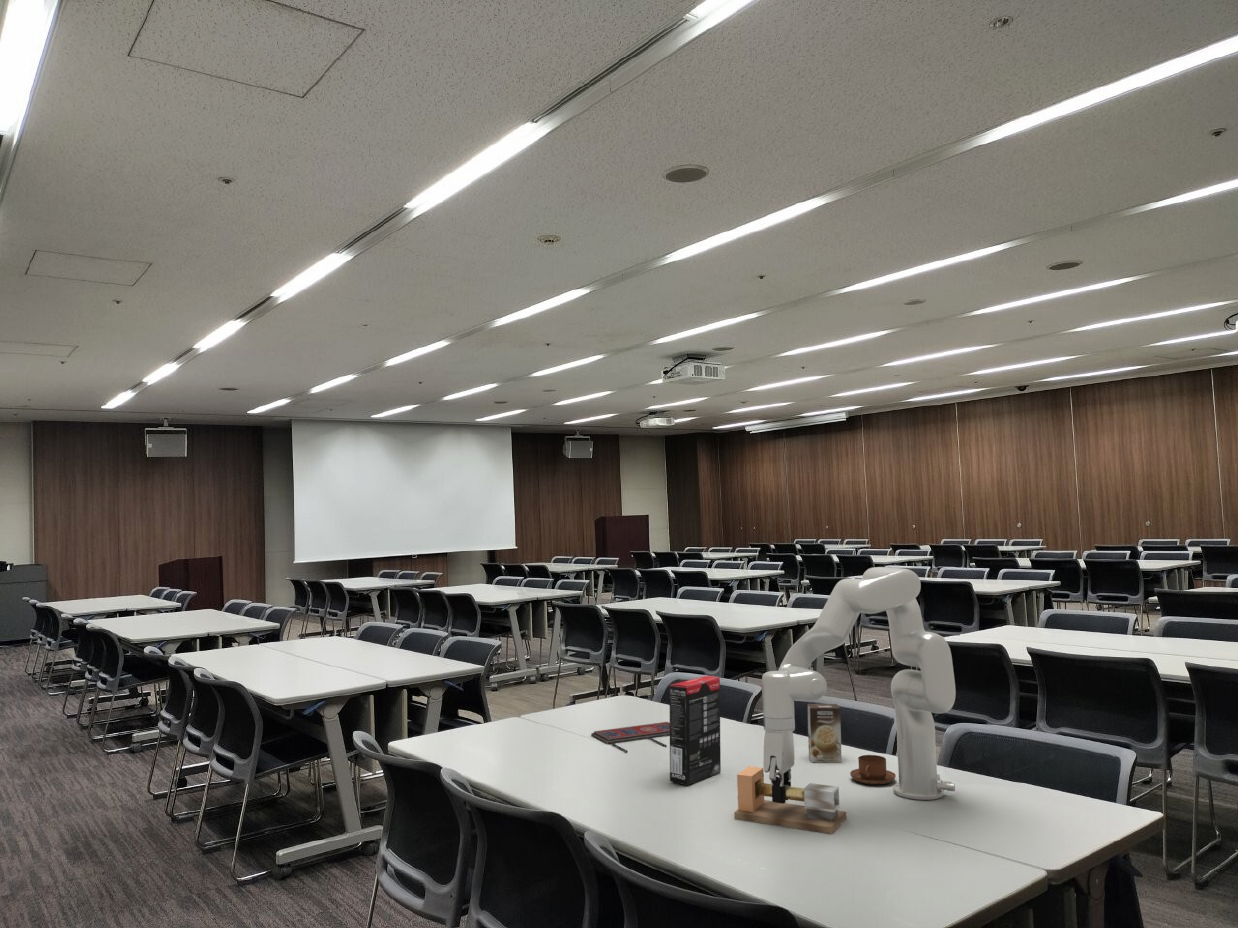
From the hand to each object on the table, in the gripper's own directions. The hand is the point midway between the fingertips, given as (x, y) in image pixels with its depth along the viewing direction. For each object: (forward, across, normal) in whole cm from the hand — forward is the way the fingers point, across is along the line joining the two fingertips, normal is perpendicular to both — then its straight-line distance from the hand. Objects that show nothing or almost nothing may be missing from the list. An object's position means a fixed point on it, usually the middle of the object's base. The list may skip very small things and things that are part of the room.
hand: (781, 799), depth 211 cm
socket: (+3, 0, -8) cm, 8 cm away
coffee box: (+5, -54, -5) cm, 54 cm away
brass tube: (0, 0, +1) cm, 1 cm away
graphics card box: (+5, -21, -32) cm, 39 cm away
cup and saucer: (+5, -39, +12) cm, 41 cm away
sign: (+5, -55, -66) cm, 86 cm away
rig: (+4, 0, +2) cm, 5 cm away
